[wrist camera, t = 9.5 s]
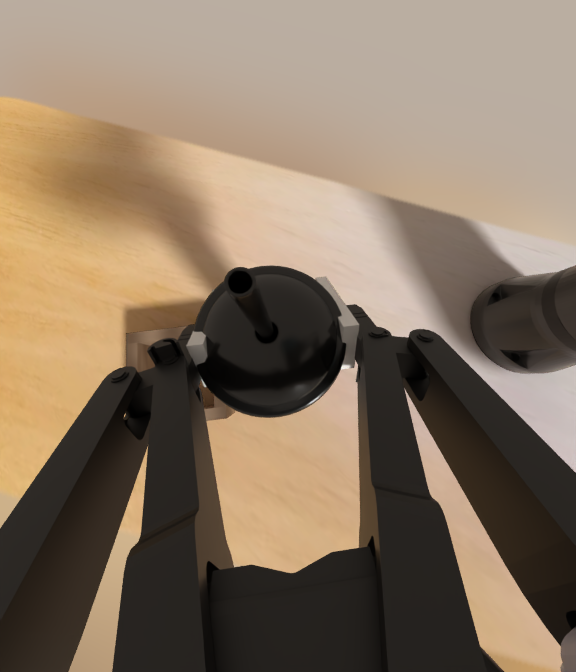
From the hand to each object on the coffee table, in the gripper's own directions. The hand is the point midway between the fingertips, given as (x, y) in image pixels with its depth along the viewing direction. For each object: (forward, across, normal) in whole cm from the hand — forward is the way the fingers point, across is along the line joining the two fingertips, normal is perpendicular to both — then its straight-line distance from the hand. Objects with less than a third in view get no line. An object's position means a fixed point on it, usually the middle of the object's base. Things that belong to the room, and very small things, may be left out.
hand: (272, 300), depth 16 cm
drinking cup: (+4, 0, -9) cm, 10 cm away
